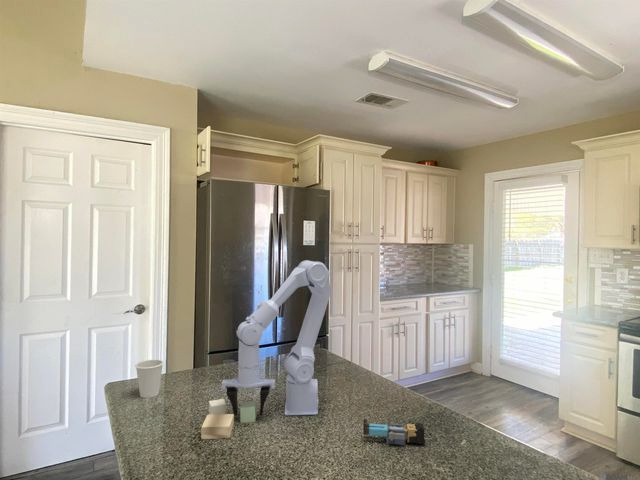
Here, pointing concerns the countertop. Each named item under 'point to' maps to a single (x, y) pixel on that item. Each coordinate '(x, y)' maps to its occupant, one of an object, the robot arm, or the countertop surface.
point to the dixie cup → (149, 377)
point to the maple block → (217, 426)
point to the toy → (396, 432)
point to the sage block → (248, 412)
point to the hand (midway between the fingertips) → (248, 413)
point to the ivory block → (217, 407)
